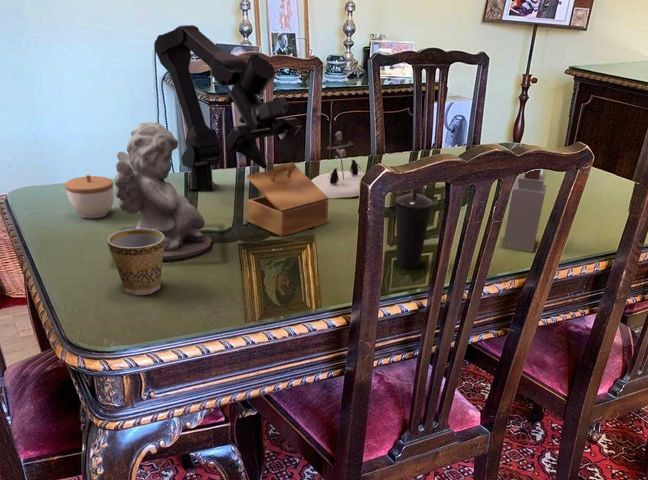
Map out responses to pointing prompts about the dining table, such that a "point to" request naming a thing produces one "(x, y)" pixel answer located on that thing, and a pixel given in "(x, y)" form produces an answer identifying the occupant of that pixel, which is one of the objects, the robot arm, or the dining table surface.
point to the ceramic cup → (138, 259)
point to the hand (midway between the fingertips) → (280, 164)
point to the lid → (287, 187)
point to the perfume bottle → (525, 212)
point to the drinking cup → (411, 228)
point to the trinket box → (90, 195)
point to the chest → (285, 216)
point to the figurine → (340, 176)
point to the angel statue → (159, 193)
